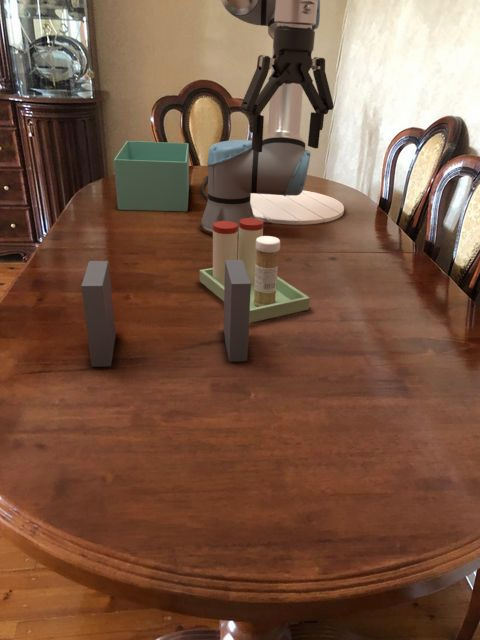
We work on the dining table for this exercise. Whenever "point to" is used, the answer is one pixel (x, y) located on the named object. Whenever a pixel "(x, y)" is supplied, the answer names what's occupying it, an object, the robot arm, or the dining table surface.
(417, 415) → the dining table surface
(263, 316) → the tray
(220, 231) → the spice bottle
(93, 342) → the grey book front
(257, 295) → the sprinkles bottle
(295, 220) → the lazy susan
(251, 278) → the spice bottle
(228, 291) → the grey upright slab
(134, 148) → the box
